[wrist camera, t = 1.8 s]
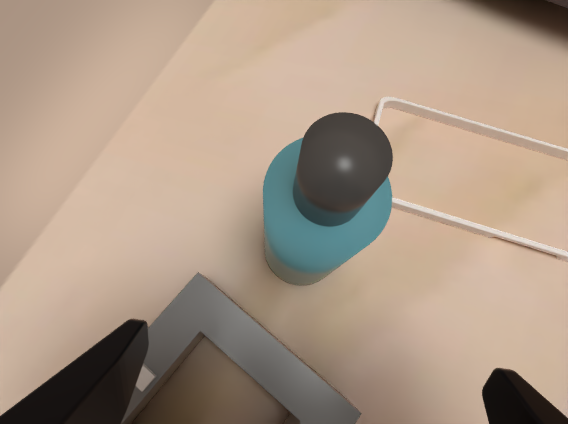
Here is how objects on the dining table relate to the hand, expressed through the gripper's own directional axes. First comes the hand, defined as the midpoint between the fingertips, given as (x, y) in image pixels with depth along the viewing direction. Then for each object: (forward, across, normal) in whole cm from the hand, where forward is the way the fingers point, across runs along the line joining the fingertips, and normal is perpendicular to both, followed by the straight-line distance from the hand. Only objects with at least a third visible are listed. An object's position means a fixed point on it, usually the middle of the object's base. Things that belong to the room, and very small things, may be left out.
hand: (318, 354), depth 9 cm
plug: (+12, 0, +5) cm, 13 cm away
